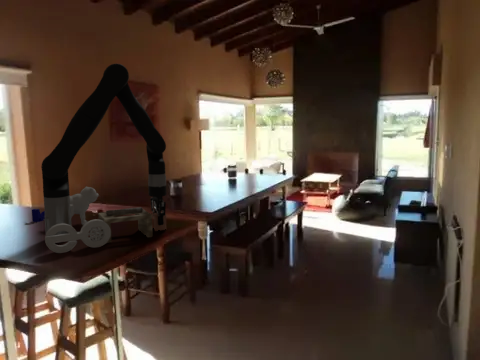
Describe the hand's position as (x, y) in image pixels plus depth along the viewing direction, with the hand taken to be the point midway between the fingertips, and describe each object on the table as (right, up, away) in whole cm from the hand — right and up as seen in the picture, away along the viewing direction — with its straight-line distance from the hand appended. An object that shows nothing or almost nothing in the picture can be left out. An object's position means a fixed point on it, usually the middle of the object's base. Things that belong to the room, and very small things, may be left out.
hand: (158, 223), depth 175 cm
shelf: (-11, -4, -10) cm, 16 cm away
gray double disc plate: (-23, -7, -28) cm, 37 cm away
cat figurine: (-40, -2, +8) cm, 41 cm away
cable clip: (-60, -1, +21) cm, 64 cm away
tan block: (0, -3, 0) cm, 2 cm away
